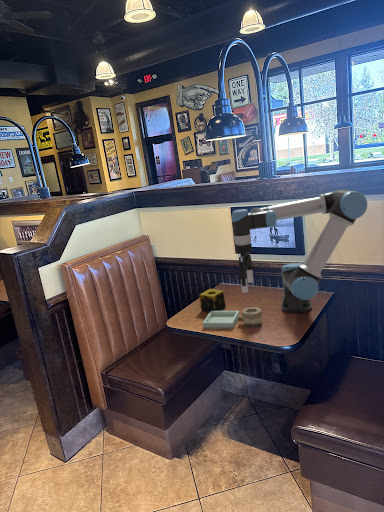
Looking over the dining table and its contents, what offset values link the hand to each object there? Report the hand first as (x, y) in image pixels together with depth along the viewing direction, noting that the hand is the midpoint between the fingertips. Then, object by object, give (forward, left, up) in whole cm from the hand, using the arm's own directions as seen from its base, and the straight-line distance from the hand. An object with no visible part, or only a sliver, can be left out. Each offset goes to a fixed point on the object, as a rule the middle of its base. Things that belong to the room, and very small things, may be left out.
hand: (248, 287), depth 177 cm
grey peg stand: (-1, 0, -19) cm, 19 cm away
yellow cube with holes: (+24, -19, -19) cm, 36 cm away
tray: (+15, -2, -19) cm, 24 cm away
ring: (+1, 0, -17) cm, 17 cm away
